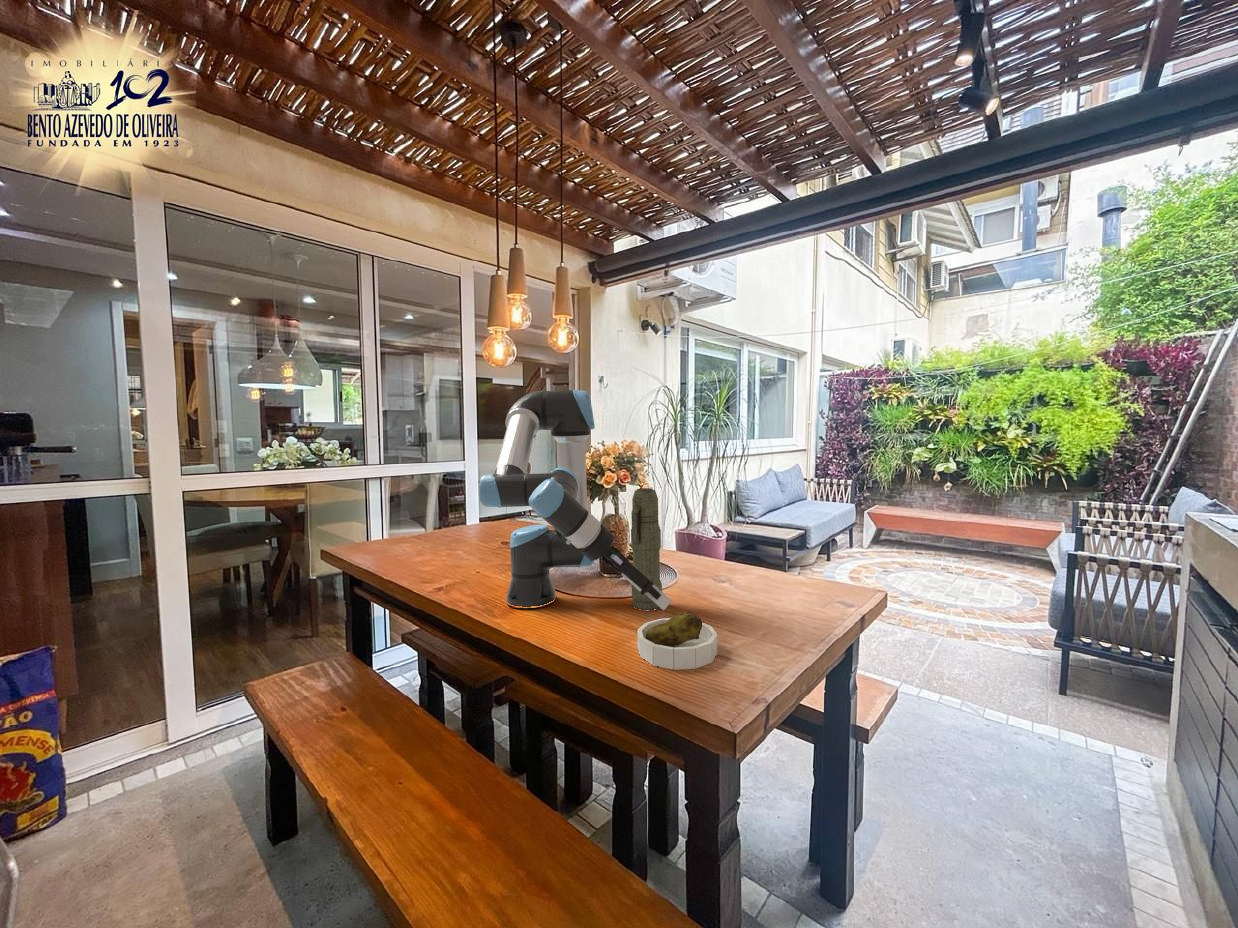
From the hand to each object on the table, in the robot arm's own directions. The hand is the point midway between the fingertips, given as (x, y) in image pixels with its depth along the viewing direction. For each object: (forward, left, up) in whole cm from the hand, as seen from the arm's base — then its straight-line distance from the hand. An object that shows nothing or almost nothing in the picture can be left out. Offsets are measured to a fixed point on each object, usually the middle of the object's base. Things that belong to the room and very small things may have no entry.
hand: (654, 595), depth 112 cm
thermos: (+2, +32, -14) cm, 35 cm away
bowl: (+5, +1, -14) cm, 15 cm away
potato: (+5, +2, -13) cm, 14 cm away
